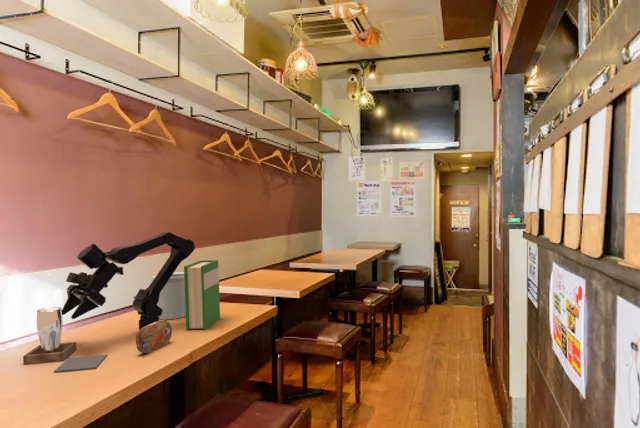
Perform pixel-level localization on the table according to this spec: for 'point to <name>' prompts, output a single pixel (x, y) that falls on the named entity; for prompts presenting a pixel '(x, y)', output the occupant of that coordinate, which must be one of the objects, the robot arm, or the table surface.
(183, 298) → the utensil holder
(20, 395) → the table surface
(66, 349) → the brown square tray
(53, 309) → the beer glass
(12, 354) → the table surface
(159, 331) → the tin
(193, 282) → the hardback book
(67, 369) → the rubber mat
